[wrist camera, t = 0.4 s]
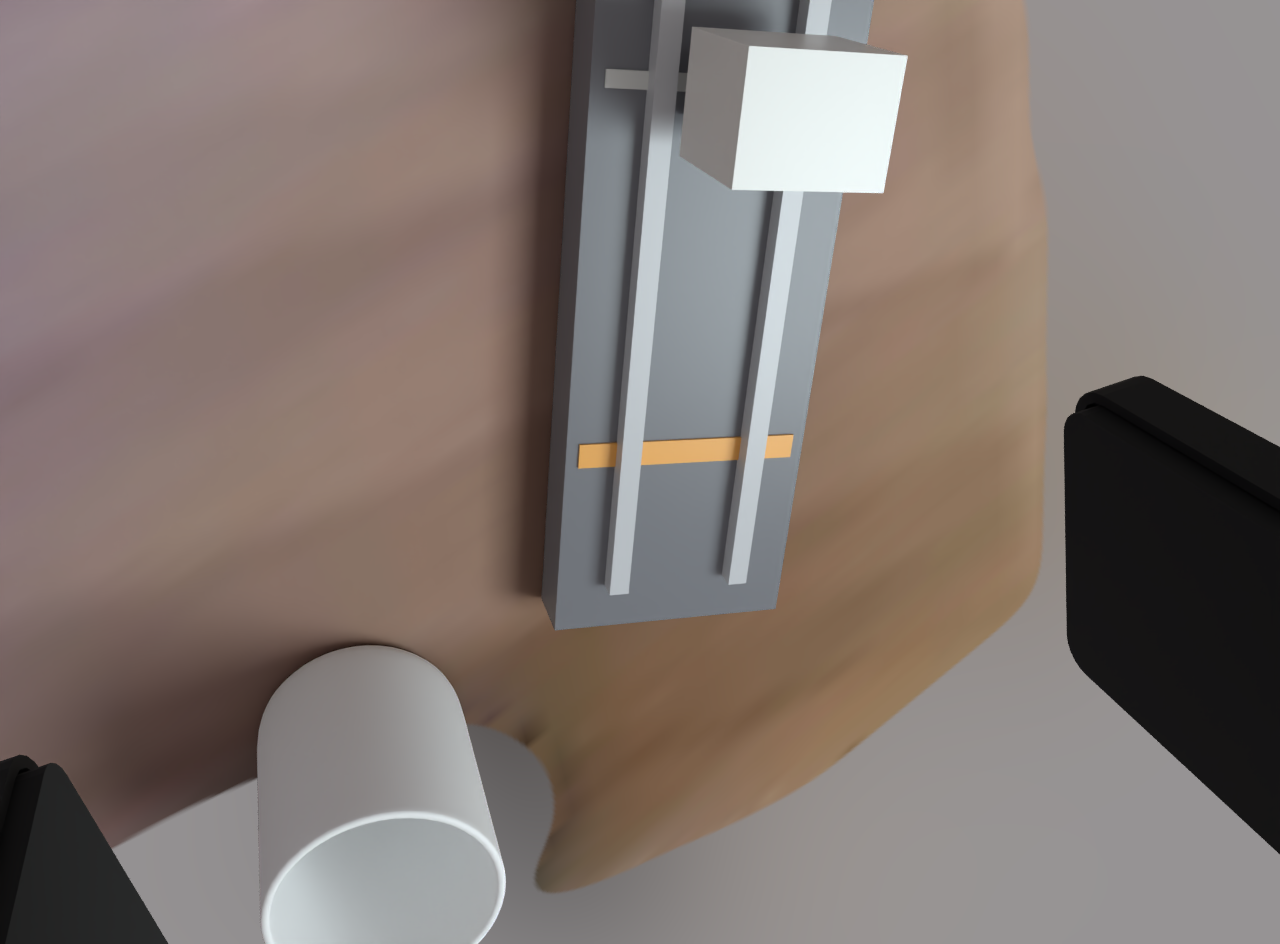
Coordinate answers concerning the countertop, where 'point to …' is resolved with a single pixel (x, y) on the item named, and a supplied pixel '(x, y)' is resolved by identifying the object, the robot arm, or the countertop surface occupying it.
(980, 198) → the countertop surface
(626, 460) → the fader console
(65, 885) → the robot arm
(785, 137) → the cap
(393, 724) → the mug
